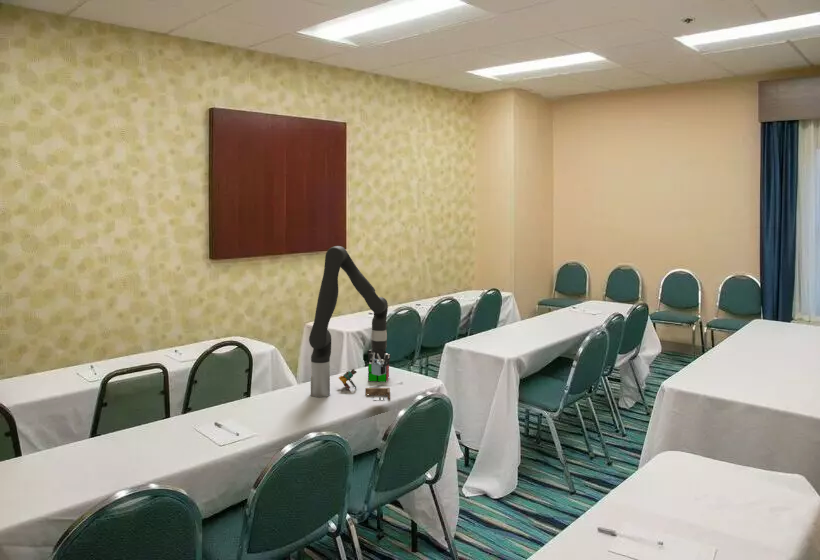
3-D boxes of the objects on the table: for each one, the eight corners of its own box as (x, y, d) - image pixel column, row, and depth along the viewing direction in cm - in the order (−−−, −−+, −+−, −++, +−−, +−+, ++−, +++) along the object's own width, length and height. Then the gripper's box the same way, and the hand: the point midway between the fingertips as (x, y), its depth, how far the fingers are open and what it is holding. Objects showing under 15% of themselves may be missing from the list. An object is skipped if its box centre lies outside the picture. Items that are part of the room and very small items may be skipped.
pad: (372, 400, 311) (372, 400, 311) (373, 397, 316) (372, 396, 316) (384, 400, 311) (384, 400, 311) (384, 397, 317) (384, 396, 317)
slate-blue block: (371, 373, 312) (371, 363, 311) (378, 371, 315) (378, 361, 315) (378, 375, 308) (378, 365, 308) (386, 373, 312) (386, 363, 311)
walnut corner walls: (365, 399, 313) (365, 392, 313) (365, 394, 320) (365, 387, 320) (390, 399, 314) (390, 392, 313) (389, 394, 321) (389, 387, 320)
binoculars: (346, 389, 334) (336, 375, 331) (360, 379, 337) (350, 364, 334) (351, 395, 326) (340, 380, 323) (365, 384, 328) (355, 369, 325)
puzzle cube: (389, 377, 352) (389, 359, 350) (386, 382, 342) (386, 364, 341) (371, 376, 353) (371, 358, 351) (368, 381, 343) (368, 363, 342)
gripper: (363, 337, 312) (363, 371, 314) (384, 342, 302) (383, 377, 304) (374, 335, 317) (374, 368, 319) (395, 339, 307) (394, 374, 310)
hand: (378, 372), depth 312 cm, fingers closed on slate-blue block, 5 cm apart
